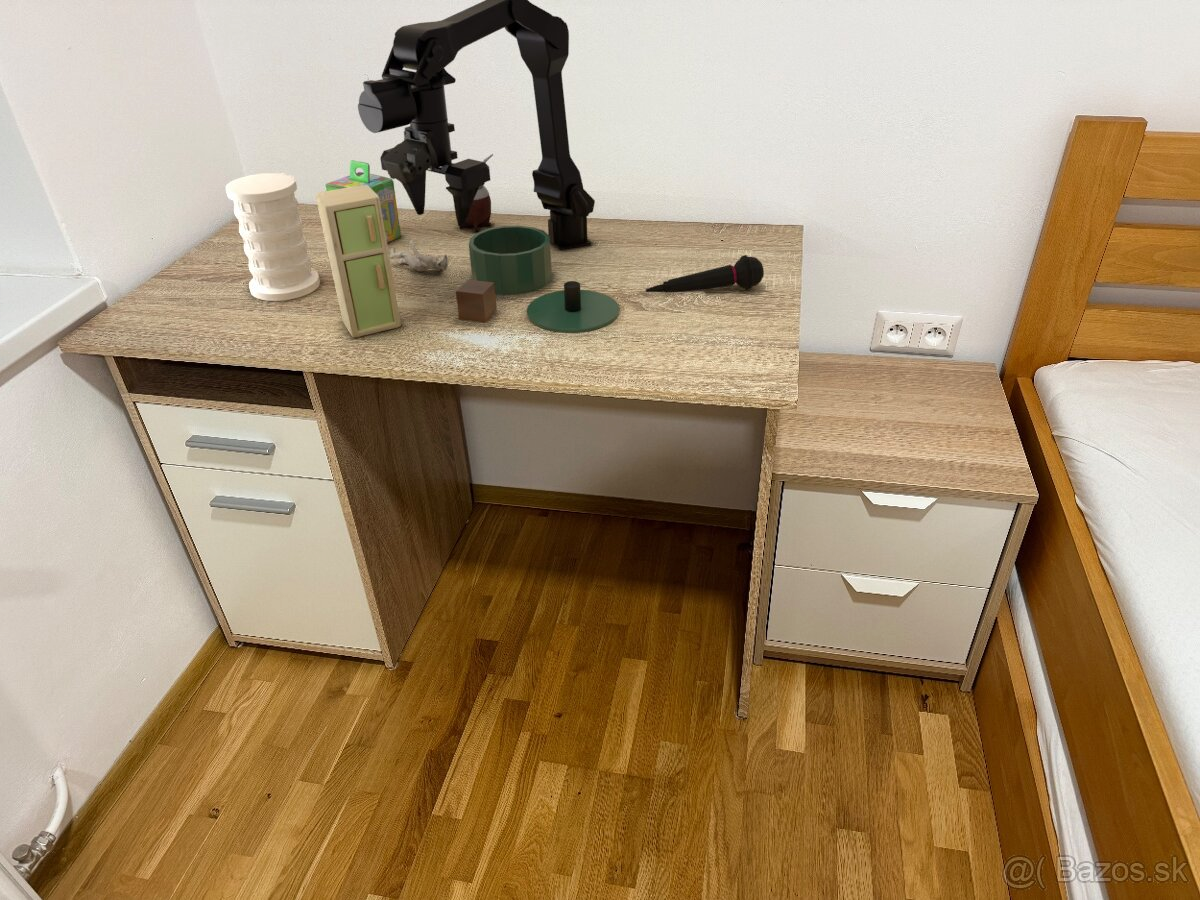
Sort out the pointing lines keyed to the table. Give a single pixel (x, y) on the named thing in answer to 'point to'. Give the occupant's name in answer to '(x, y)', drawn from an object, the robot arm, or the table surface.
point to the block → (476, 301)
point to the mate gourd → (479, 209)
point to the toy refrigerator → (359, 259)
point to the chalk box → (381, 188)
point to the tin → (511, 258)
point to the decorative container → (273, 236)
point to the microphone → (717, 277)
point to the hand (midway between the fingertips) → (440, 219)
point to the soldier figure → (420, 260)
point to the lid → (572, 310)
